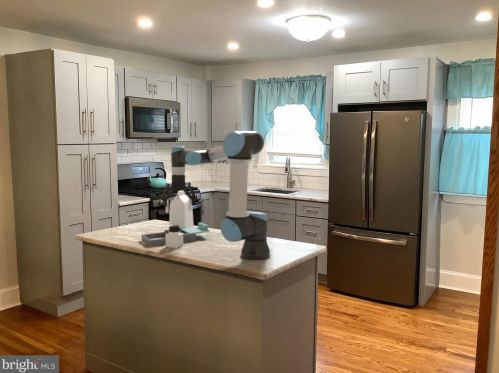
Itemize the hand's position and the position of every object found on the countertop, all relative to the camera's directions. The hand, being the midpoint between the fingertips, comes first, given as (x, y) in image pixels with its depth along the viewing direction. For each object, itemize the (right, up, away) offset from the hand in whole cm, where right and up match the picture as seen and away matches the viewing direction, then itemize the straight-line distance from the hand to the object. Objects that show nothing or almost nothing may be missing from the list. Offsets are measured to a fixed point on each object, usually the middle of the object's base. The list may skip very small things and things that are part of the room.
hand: (178, 211), depth 256 cm
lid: (+7, -13, +19) cm, 24 cm away
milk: (-4, -15, +36) cm, 39 cm away
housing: (-7, -18, +11) cm, 22 cm away
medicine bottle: (-2, -20, -2) cm, 20 cm away
